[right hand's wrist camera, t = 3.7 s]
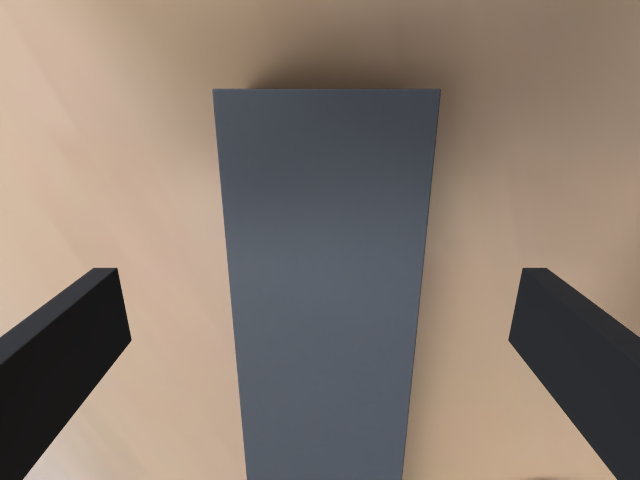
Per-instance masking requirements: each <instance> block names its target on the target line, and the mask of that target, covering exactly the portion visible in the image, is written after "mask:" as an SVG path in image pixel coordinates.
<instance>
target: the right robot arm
mask: <svg viewBox="0 0 640 480" xmlns="http://www.w3.org/2000/svg"><path fill="white" fill-rule="evenodd" d="M130 342H131V335H130V330H129V325H128V320H127V315H126V310H125V305H124V299H123V294H122V289H121V284H120V279H119V274H118V269H117V268H93V269H92V270H90V271H89V272H88V273H86V274H85V275H83V276H82V277H81V278H79V279H78V280H77V281H75V282H74V283H73V284H71V285H70V286H69V287H67V288H66V289H65V290H63V291H62V292H61V293H59V294H58V295H57V296H55V297H54V298H53V299H51V300H50V301H49V302H47V303H46V304H45V305H43V306H42V307H41V308H39V309H38V310H36V311H35V312H34V313H32V314H31V315H30V316H28V317H27V318H26V319H24V320H23V321H22V322H20V323H19V324H18V325H16V326H15V327H14V328H12V329H11V330H10V331H8V332H7V333H6V334H4V335H3V336H2V337H0V480H23V479H24V477H25V476H26V475H27V473H28V472H29V471H30V470H31V468H32V467H33V466H34V465H35V463H36V462H37V461H38V459H39V458H40V457H41V456H42V454H43V453H44V452H45V450H46V449H47V448H48V447H49V445H50V444H51V443H52V441H53V440H54V439H55V438H56V436H57V435H58V434H59V433H60V431H61V430H62V429H63V427H64V426H65V425H66V424H67V422H68V421H69V420H70V418H71V417H72V416H73V415H74V413H75V412H76V411H77V410H78V408H79V407H80V406H81V404H82V403H83V402H84V401H85V399H86V398H87V397H88V395H89V394H90V393H91V392H92V390H93V389H94V388H95V386H96V385H97V384H98V383H99V381H100V380H101V379H102V378H103V376H104V375H105V374H106V372H107V371H108V370H109V369H110V367H111V366H112V365H113V363H114V362H115V361H116V360H117V358H118V357H119V356H120V355H121V353H122V352H123V351H124V349H125V348H126V347H127V346H128V344H129V343H130ZM509 342H510V343H511V344H512V346H513V347H514V348H515V349H516V351H517V352H518V353H519V355H520V356H521V357H522V358H523V360H524V361H525V362H526V363H527V365H528V366H529V367H530V369H531V370H532V371H533V372H534V374H535V375H536V376H537V378H538V379H539V380H540V381H541V383H542V384H543V385H544V386H545V388H546V389H547V390H548V392H549V393H550V394H551V395H552V397H553V398H554V399H555V401H556V402H557V403H558V404H559V406H560V407H561V408H562V410H563V411H564V412H565V413H566V415H567V416H568V417H569V418H570V420H571V421H572V422H573V424H574V425H575V426H576V427H577V429H578V430H579V431H580V433H581V434H582V435H583V436H584V438H585V439H586V440H587V441H588V443H589V444H590V445H591V447H592V448H593V449H594V450H595V452H596V453H597V454H598V456H599V457H600V458H601V459H602V461H603V462H604V463H605V465H606V466H607V467H608V468H609V470H610V471H611V472H612V473H613V475H614V476H615V477H616V479H617V480H640V337H638V336H637V335H636V334H634V333H633V332H632V331H630V330H629V329H628V328H626V327H625V326H624V325H622V324H621V323H620V322H618V321H617V320H616V319H614V318H613V317H612V316H610V315H609V314H608V313H606V312H605V311H604V310H602V309H601V308H599V307H598V306H597V305H595V304H594V303H593V302H591V301H590V300H589V299H587V298H586V297H585V296H583V295H582V294H581V293H579V292H578V291H577V290H575V289H574V288H573V287H571V286H570V285H569V284H567V283H566V282H565V281H563V280H562V279H561V278H559V277H558V276H557V275H555V274H554V273H552V272H551V271H550V270H548V269H547V268H523V269H522V274H521V279H520V284H519V289H518V294H517V299H516V305H515V310H514V315H513V320H512V325H511V330H510V335H509Z"/></svg>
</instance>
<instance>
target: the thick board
mask: <svg viewBox="0 0 640 480" xmlns="http://www.w3.org/2000/svg"><path fill="white" fill-rule="evenodd" d="M212 91H213V102H214V114H215V125H216V136H217V147H218V158H219V170H220V181H221V192H222V203H223V215H224V226H225V237H226V248H227V260H228V271H229V282H230V293H231V305H232V316H233V327H234V338H235V350H236V361H237V372H238V383H239V394H240V406H241V417H242V428H243V439H244V451H245V462H246V473H247V480H402V473H403V463H404V453H405V443H406V433H407V423H408V413H409V403H410V393H411V383H412V373H413V363H414V353H415V343H416V333H417V323H418V313H419V303H420V293H421V283H422V273H423V263H424V253H425V243H426V233H427V223H428V213H429V203H430V193H431V183H432V173H433V163H434V153H435V143H436V133H437V123H438V113H439V103H440V93H441V90H440V89H213V90H212Z"/></svg>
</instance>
